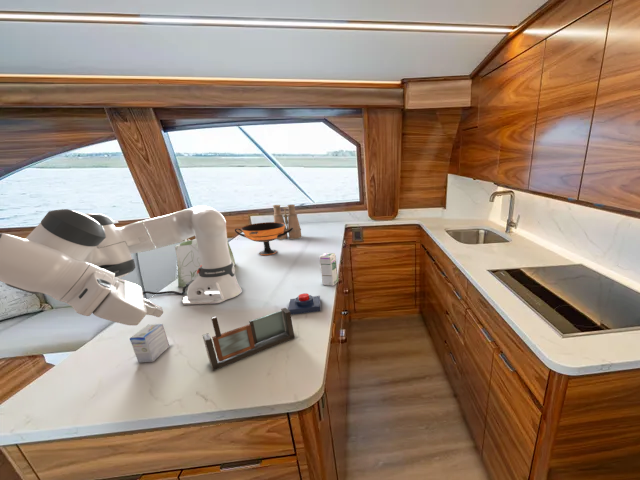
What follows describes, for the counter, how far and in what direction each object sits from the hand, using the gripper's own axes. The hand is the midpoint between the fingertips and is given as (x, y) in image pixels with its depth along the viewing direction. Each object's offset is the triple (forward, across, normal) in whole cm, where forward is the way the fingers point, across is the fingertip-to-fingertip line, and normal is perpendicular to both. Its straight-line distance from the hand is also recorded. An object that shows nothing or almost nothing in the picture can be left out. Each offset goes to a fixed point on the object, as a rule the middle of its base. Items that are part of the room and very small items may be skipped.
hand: (161, 312), depth 74 cm
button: (+43, -17, +19) cm, 50 cm away
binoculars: (+76, -136, +46) cm, 163 cm away
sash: (+23, 0, -4) cm, 24 cm away
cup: (+58, -106, +28) cm, 124 cm away
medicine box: (+12, -20, -18) cm, 30 cm away
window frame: (+28, -1, -1) cm, 28 cm away
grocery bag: (+32, -88, +2) cm, 94 cm away
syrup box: (+60, -33, +30) cm, 75 cm away
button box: (+46, -17, +16) cm, 51 cm away
